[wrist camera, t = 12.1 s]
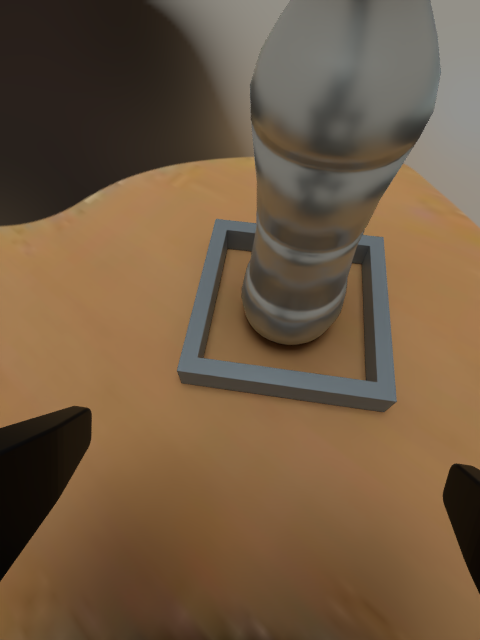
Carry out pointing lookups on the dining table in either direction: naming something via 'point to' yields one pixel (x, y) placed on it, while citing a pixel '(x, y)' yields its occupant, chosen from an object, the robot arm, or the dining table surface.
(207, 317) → the frame
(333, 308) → the plastic bottle
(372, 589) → the dining table surface
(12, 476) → the robot arm
